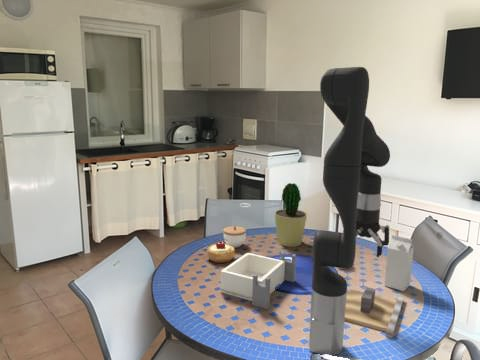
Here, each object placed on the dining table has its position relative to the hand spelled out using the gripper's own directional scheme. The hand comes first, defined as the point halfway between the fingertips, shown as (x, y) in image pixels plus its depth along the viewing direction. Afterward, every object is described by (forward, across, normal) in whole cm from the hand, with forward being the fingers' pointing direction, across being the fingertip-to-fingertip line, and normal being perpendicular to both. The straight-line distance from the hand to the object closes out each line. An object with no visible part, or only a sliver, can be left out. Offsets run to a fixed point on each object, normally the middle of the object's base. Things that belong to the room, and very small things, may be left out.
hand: (364, 254), depth 128 cm
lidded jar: (+19, -62, +32) cm, 72 cm away
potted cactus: (+19, -40, +48) cm, 65 cm away
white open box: (+18, -36, -3) cm, 40 cm away
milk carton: (+19, +10, +22) cm, 30 cm away
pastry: (+19, -60, +15) cm, 65 cm away
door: (+19, +2, -2) cm, 19 cm away
